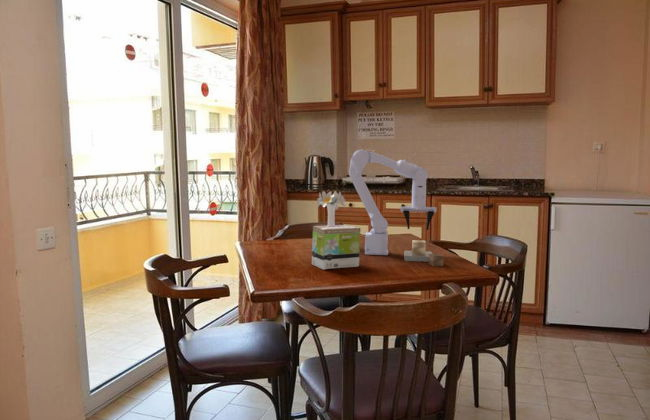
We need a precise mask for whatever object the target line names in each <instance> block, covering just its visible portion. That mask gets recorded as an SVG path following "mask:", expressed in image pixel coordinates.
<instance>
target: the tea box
mask: <svg viewBox="0 0 650 420" xmlns="http://www.w3.org/2000/svg"><path fill="white" fill-rule="evenodd" d="M311 242H312V243H311V245H312V247H311V248H312V249H311V265H313V266H314V267H317V268H319V269H321V270H328V269H329V270H331V269H341V268H342V269H343V268H344V269H345V268H357V267H359V266H360V254H361V253H360V250H361V248H360V247H361V227H358V226H354V225H350V224H335V225H326V224H325V225H313V226H312V241H311Z"/></svg>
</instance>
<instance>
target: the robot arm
mask: <svg viewBox="0 0 650 420" xmlns="http://www.w3.org/2000/svg"><path fill="white" fill-rule="evenodd" d="M367 163H370V164H371V163H373V164H374V163H378V164H380V165H383V166H386V167H389V168H391V169H393V170H394V172H395V173H396V174H398V175H401V176H404V177H406V178H409V179H412V185H411V206H400V212H402V213H403V215H404V218H405V221H406V224H407V230H410V216H411V215H410V212H411V213H415V212H416V213H417V212H418V213H426V228H425V230H428V231H429V228H430V223H431V221H432V219H433V217H434V215H435V214H434V213H437V211H438V210H437V208H438V207H435V206H434V207H433V206H426V205H427V204H426V203H427V202H426V201H427V179H428V177H429V174H428V171H427V169H425V168H423V167H421V166H418V164H416V163H415V164H413V163H410V162H408V159H403V160H402V159H399V160H398V161H396V160H394V159H392V158H390V157H387V156H385V155H382V154H381V153H380V154H379V153H377V152H374V151H369V150H365V149H358V150H356V151H354V153H353V155H352V156H351V158H350V164H349V172H348V176H349V178H350V180H351V182H352V185H353V186H354V188H355V191H356V193H357V194H358V196H359V198H360V200H361V202H362V204H363V206H364V208H365V210H366V212H367V214H368V217H369V218H370V225H371V229H370V231H366V232H365V238H364V241H365V242H364V255H372V256H373V255H374V256H376V255H377V256H388V255H389V250H388V241H389V240H388V237H389V235H388V233H389V231H388V228H389V227H388V226H389V223H388V221H387V220H386V218H385V217H384V216H382V214H381V212H380V210H379V208H378V206H377V204H376V202H375V200H374V197H373V196H372V193H371V192H370V190H369V188H368V186H367V184H366V182H365V180H364V178H363V176H362V173H363V171H364V167H366V165H367Z"/></svg>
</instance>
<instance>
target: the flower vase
mask: <svg viewBox="0 0 650 420" xmlns="http://www.w3.org/2000/svg"><path fill="white" fill-rule="evenodd" d="M318 194H319V195H318V198H317V199H316V202H317V204H316V208H315V209H318V207H319V206H322V208H325V207H326V208H327V209H326V210H327V225H336V222H335V221H336V219H335V218H336V217H335V216H336V215H335V214H336V213H335V212H336V210H338V209H339V205H341V206H342V207H344V208H346V205H345V202H346V199H345V197H344V196H343V195H342V192H341V191H339V192H337V191H334V192H333V194H332V191H329V192H327V193H326V192H325V190H324V191H322V192H319V193H318Z"/></svg>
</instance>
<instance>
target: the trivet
mask: <svg viewBox="0 0 650 420" xmlns="http://www.w3.org/2000/svg"><path fill="white" fill-rule="evenodd" d="M429 254H433V252H432V251H427V250H426V251H425V255H412V250H404V251H403V257H404V258H403V259H404V262H422V261H423V262H424V263H426V262H428V263H429Z"/></svg>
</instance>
